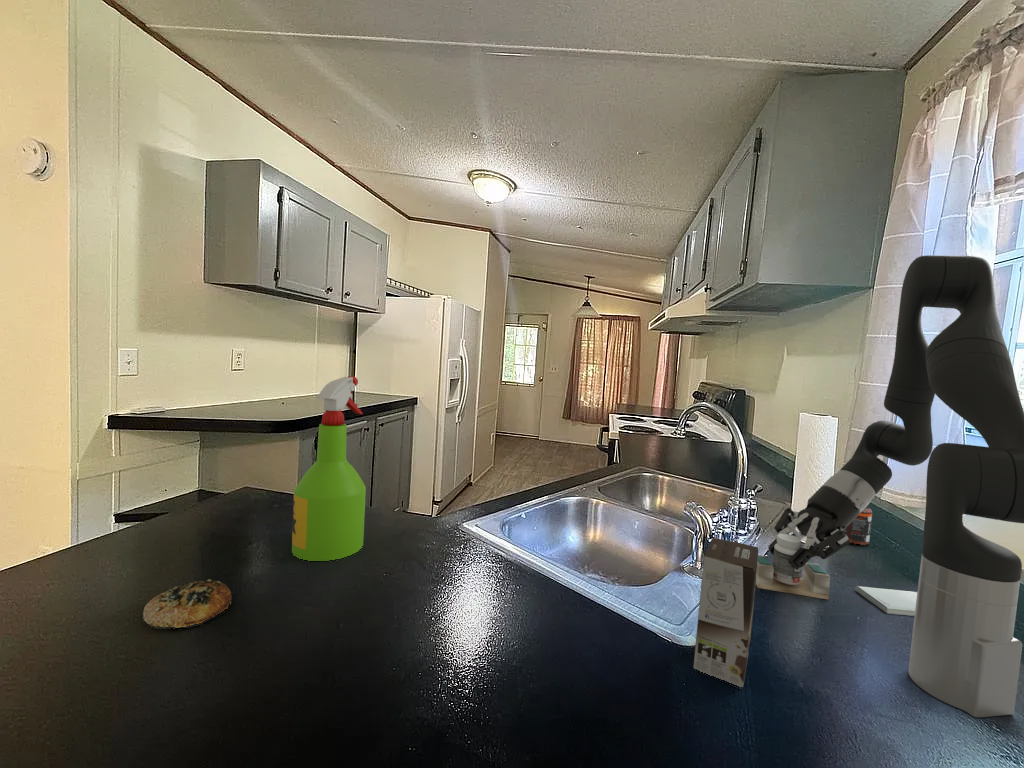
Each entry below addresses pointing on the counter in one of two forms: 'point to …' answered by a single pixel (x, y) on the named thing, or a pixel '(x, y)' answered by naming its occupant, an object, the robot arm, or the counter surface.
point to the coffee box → (726, 610)
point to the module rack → (810, 584)
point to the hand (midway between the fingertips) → (782, 559)
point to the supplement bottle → (860, 528)
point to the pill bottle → (786, 559)
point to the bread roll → (187, 604)
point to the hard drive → (890, 600)
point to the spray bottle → (330, 487)
